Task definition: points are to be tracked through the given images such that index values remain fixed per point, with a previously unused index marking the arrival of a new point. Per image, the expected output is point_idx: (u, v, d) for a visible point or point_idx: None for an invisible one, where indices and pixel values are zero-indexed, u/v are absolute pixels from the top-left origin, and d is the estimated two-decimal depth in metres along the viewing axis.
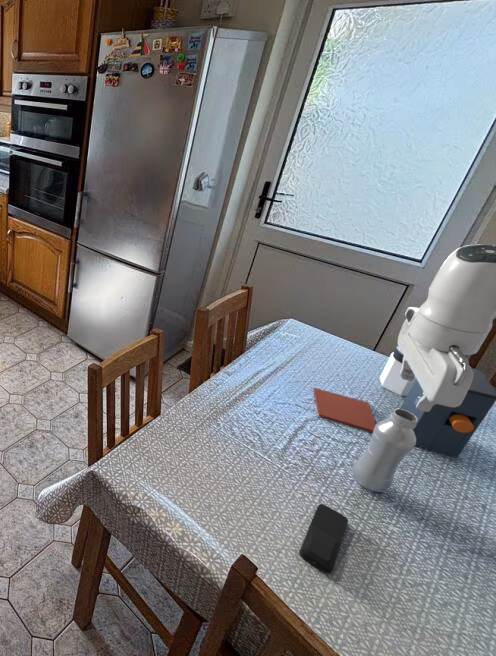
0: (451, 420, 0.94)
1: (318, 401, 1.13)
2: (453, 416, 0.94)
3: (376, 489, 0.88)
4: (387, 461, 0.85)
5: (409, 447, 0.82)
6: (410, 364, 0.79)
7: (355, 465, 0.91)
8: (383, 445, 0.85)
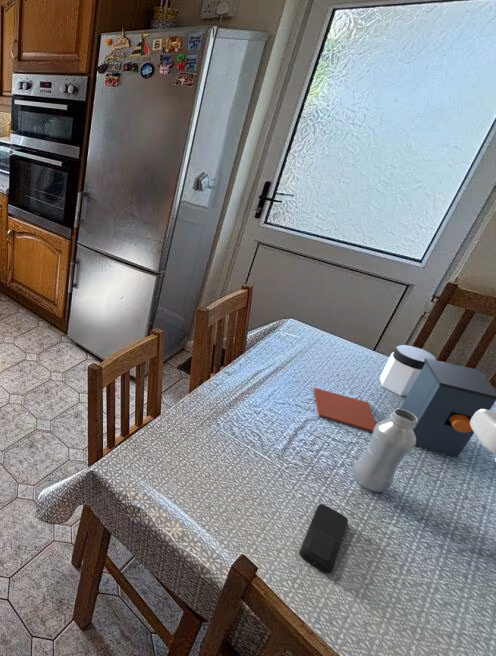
0: (451, 420, 0.94)
1: (318, 401, 1.13)
2: (453, 416, 0.94)
3: (376, 489, 0.88)
4: (387, 461, 0.85)
5: (409, 447, 0.82)
6: None
7: (355, 465, 0.91)
8: (383, 445, 0.85)
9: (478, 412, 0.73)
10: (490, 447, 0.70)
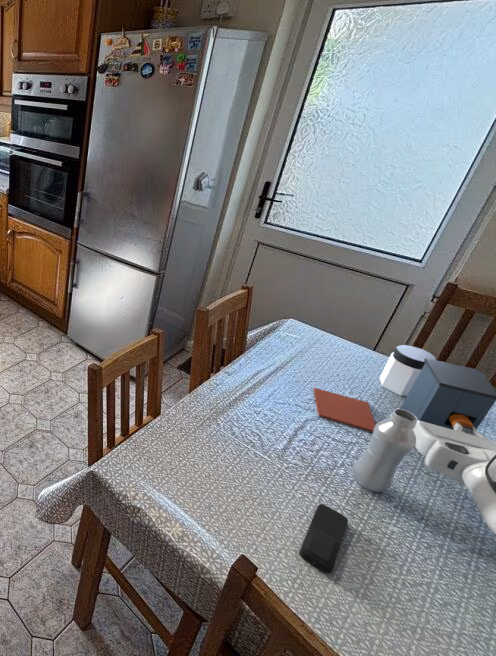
0: (451, 419, 0.94)
1: (318, 401, 1.13)
2: (453, 415, 0.94)
3: (376, 489, 0.88)
4: (387, 461, 0.85)
5: (409, 447, 0.82)
6: None
7: (355, 465, 0.91)
8: (383, 445, 0.85)
9: None
10: (421, 451, 0.89)
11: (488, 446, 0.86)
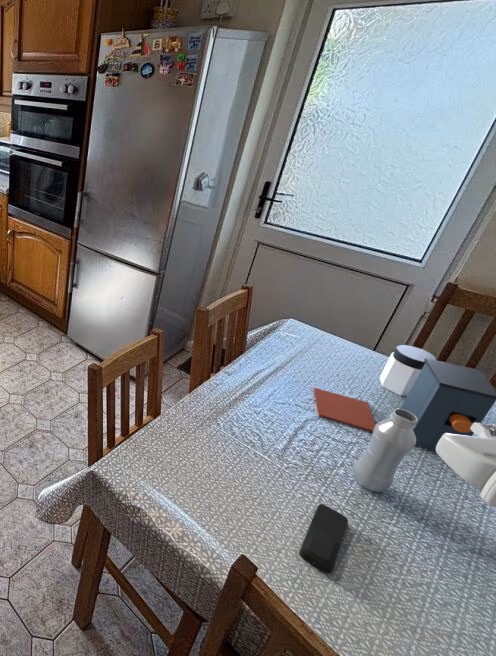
0: (451, 420, 0.94)
1: (318, 401, 1.13)
2: (453, 416, 0.94)
3: (376, 489, 0.88)
4: (387, 461, 0.85)
5: (409, 447, 0.82)
6: None
7: (355, 465, 0.91)
8: (383, 445, 0.85)
9: (445, 439, 0.65)
10: (472, 481, 0.62)
11: None
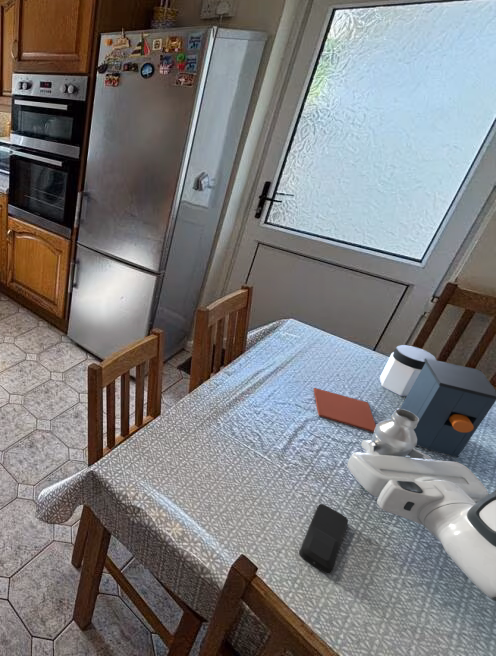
0: (451, 420, 0.94)
1: (318, 401, 1.13)
2: (453, 416, 0.94)
3: None
4: None
5: (410, 447, 0.82)
6: None
7: None
8: (384, 445, 0.85)
9: (353, 457, 0.83)
10: (371, 491, 0.79)
11: (422, 468, 0.80)
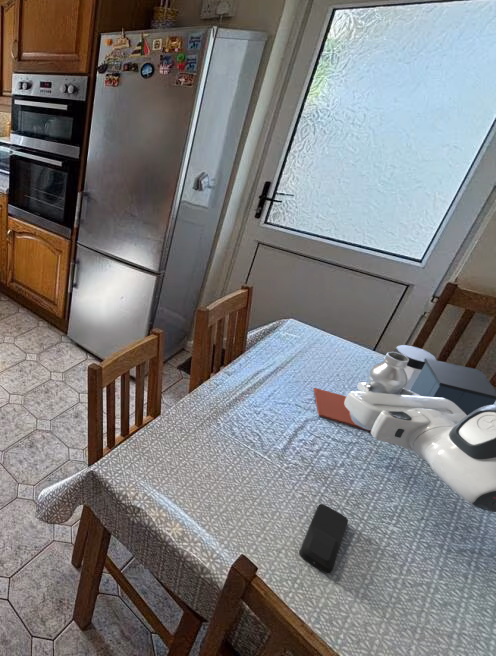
0: None
1: (318, 401, 1.13)
2: None
3: None
4: None
5: (401, 385, 0.90)
6: None
7: None
8: (377, 385, 0.93)
9: (350, 395, 0.91)
10: (366, 423, 0.87)
11: (412, 403, 0.88)
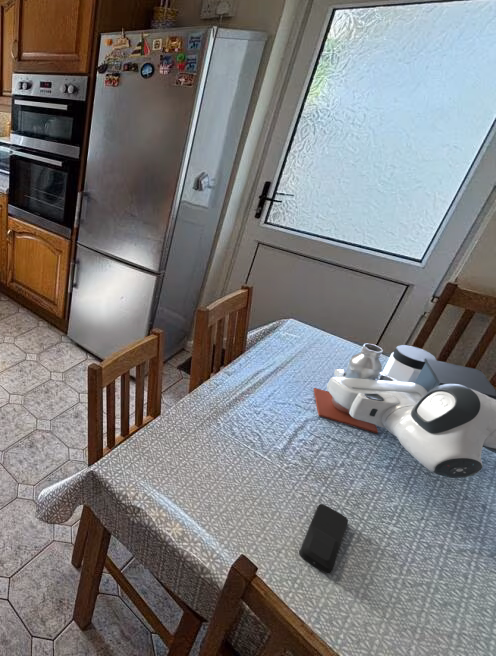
0: None
1: (318, 401, 1.13)
2: None
3: None
4: None
5: (376, 373, 1.02)
6: None
7: None
8: (355, 373, 1.04)
9: (331, 380, 1.02)
10: (345, 405, 0.99)
11: (386, 387, 0.99)
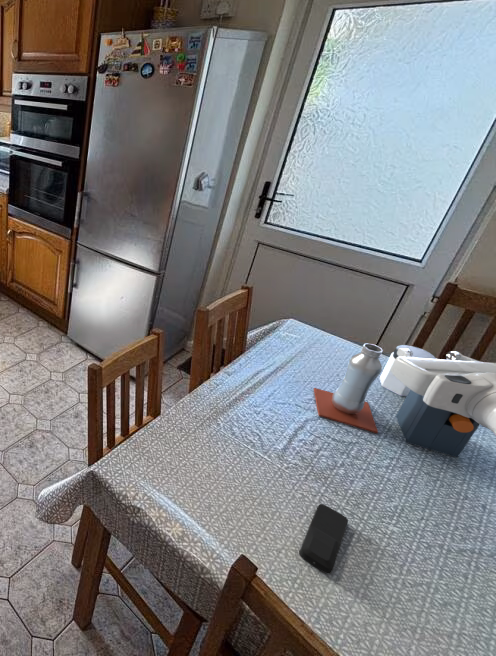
0: (451, 420, 0.94)
1: (318, 401, 1.13)
2: (453, 416, 0.94)
3: (350, 411, 1.07)
4: (359, 386, 1.05)
5: (376, 373, 1.02)
6: None
7: (334, 394, 1.11)
8: (355, 373, 1.04)
9: (398, 361, 0.84)
10: (417, 390, 0.80)
11: (467, 368, 0.81)
